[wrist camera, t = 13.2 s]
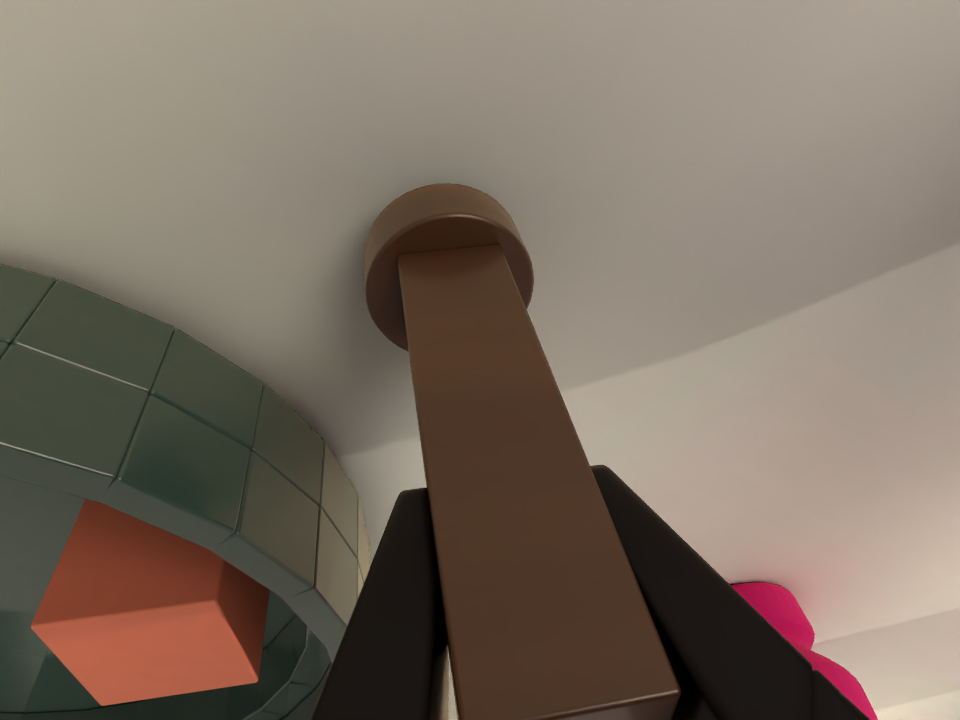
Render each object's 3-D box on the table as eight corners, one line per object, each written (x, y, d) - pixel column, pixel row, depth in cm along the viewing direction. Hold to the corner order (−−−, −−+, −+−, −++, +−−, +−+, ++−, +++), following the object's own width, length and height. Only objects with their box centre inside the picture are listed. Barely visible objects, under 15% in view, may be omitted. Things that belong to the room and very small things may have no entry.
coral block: (275, 554, 20) (258, 683, 17) (141, 571, 20) (100, 707, 16) (242, 468, 17) (215, 601, 14) (88, 486, 17) (28, 627, 14)
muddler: (518, 311, 15) (702, 788, 7) (374, 329, 15) (410, 850, 7) (519, 174, 13) (779, 638, 5) (352, 190, 13) (366, 717, 5)
